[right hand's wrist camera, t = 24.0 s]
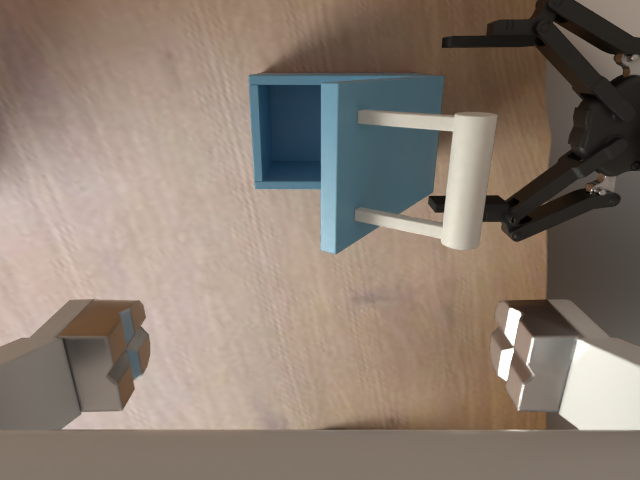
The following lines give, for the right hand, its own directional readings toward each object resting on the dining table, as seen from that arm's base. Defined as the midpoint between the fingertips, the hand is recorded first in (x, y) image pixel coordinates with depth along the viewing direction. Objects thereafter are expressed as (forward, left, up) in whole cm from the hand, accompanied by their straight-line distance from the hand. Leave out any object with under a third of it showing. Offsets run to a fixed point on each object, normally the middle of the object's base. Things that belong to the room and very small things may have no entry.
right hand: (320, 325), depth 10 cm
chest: (+1, +1, -37) cm, 37 cm away
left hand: (+6, +8, -30) cm, 32 cm away
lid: (+3, +3, -21) cm, 22 cm away
